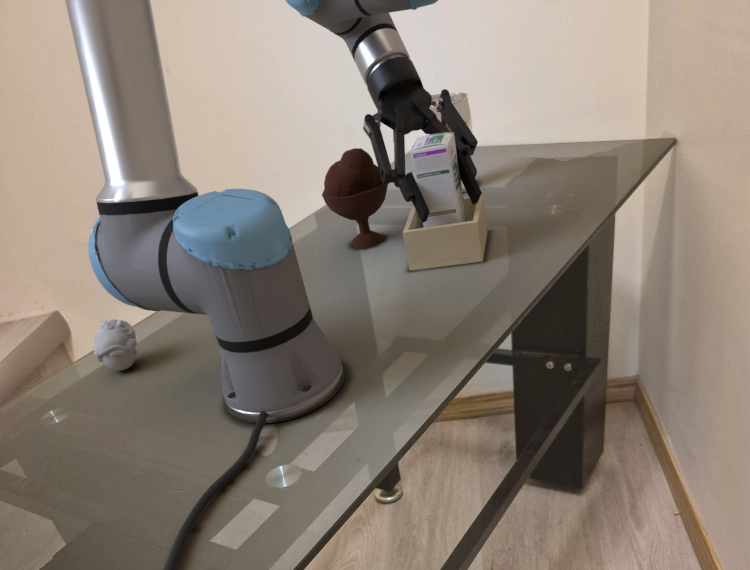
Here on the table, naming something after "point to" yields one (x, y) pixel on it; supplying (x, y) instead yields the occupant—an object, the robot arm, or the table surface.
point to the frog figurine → (115, 344)
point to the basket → (446, 239)
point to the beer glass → (463, 109)
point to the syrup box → (439, 178)
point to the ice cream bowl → (356, 193)
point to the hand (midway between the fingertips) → (451, 207)
